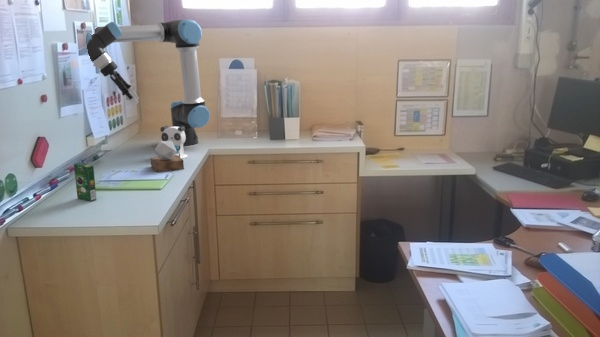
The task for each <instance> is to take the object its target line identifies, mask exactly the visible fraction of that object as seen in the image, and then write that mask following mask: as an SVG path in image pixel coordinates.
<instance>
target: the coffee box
mask: <svg viewBox="0 0 600 337" xmlns="http://www.w3.org/2000/svg"><path fill="white" fill-rule="evenodd" d="M94 168H95V167H94V165H91V164H86V163H82V162H77V163H73V169H74V171H73V172H74V177H75V186H76V187H75V188H76V196H77V199H79V200H84V201H87V202H94V201H97V192H96V181H95V180H96V179H95V170H94Z"/></svg>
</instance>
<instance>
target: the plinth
mask: <svg viewBox="0 0 600 337" xmlns="http://www.w3.org/2000/svg"><path fill="white" fill-rule="evenodd" d="M150 166H151V168H152V169H153V170H154V171H155V173H159V172H158V171H163V172H170V171H169V170H171V171H178V170H179V171H180V170H184V169H185V167H184V166H185V165H184V159H181V158H180V157H179V156H178V155H174V157H173V159H172V160H159V158H158V156H156V157H155V156H154V157H150Z"/></svg>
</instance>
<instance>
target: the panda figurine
mask: <svg viewBox="0 0 600 337" xmlns="http://www.w3.org/2000/svg"><path fill="white" fill-rule="evenodd" d="M184 130H185V127H184V126H182V127H176V126H174V127H172V126H170V127H169V126H168V125H164V126H161V127H160V132H161V138H160V139H161V141H172V142H173V144H174V146H175V148H176V150H177V152H176V154H175V155H178V156H179V157H180V158H181V159H182V160H184V159H187V158H188V157H189V155H188V154H186V153H185V152H184V146H183V144H184V142H185V140H186V135H185V132H184Z"/></svg>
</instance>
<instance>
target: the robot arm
mask: <svg viewBox="0 0 600 337" xmlns="http://www.w3.org/2000/svg"><path fill="white" fill-rule="evenodd" d="M96 27H97V28H96V29H95V34H93V35H91V34H90V33H88V32H86V33H87V35H86V44H87V49H88V54H89V56H90V59H91V60H90V59H89V60H90V61H91V63H93V67H96V68H97V69H98V70H99V72H100V74H102V76H103V77H104V78H105V77H107V76H109V78H110V79H111V81H112V82H113V83H114V84H115V85H116V86H117V89H119V90H120V92H121V95H122V96H125V97H126V98H127V99H128V101H129V102H130V103H131V105H133V107H135V106H136V105H137V104H139V100H140V97H139V96H138V94H137V93H136V92H135V91H134V90H133V88H131V87H132V85H131V84H129V83H128V82H127V81H126V80H125V79H124V78H123V77H122V76H121V75H120V73H119V72H118V71H116V70H117V69H118V65H117V64H116V62H115V61H113V60H112V57H111V56H110V55H109V54H108V53H107V52H106V51H105V50H104V49H106V48H107V47H108V46H109V45H111V44H113V43H126V42H127V43H128V42H132V43H133V42H151V41H152V42H153V41H158V42H159V43H171V44H175V49H176V50H177V51H178V52H179V53H178V54H179V60H180V69H181V77H182V78H181V79H182V86H183V95H184V99H183V100H180V101H172V102H171V103H170V112H171V113H170V116H171V127H174V126H176V127H182V126H184V127H185V130H184V132H185V135H186V140H185V142H184V144H183V147H184V146H192V145H193V146H194V145H196V144H199V136H198V134H197V131H196V128H197V129H201V128H203V127H205V126H206V125H207V124H208V123H209V121H210V118H211V113H210V111H209V109H208V108H207V107H206V102H205V101H206V100H205V99H204V98H202V91H201V90H202V89H201V80H200V72H199V71H200V70H199V63H198V52H197V51H198V49H199V48H200V40H202V37H203V36H202V35H203V30H202V28H201V26H200V25H199V23H198V22H196V21H195V20H193V19H177V20H171V21H165V22H158V23H156V24H147V25H145V24H144V25H142V24H141V25H121V26H120V25H118V24H117V23H116V22H115V21H111V22H108V23H107V24H106V25H104V26H96Z"/></svg>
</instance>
